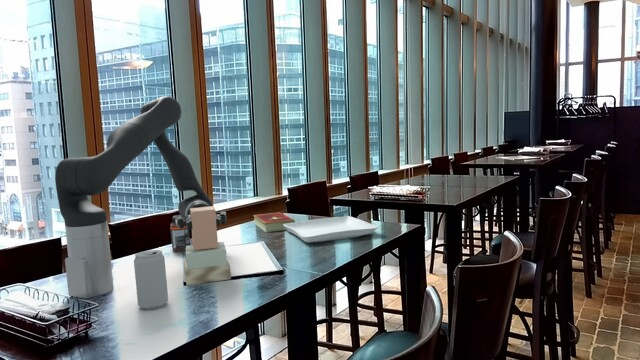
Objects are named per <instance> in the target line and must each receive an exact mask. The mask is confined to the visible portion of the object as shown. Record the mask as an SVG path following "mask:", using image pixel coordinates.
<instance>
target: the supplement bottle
mask: <svg viewBox="0 0 640 360" xmlns="http://www.w3.org/2000/svg"><path fill="white" fill-rule="evenodd" d="M175 216H181V215H180V214H178V215H177V214H176V215H173V216H172V222H171V223H170V225H169V226H170V227H169V228H170V230H169V231H170V238H171V249H172V251H174V252H184V251H185V252H186V246H189V245H191V236H190V234H191V233H190V228H186V226H184V228H179V227H178V226H176V219H175Z"/></svg>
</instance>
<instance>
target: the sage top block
mask: <svg viewBox="0 0 640 360" xmlns="http://www.w3.org/2000/svg"><path fill="white" fill-rule="evenodd" d="M185 261H186V266H187V270H188V269H196V268H205V267H213V266H222V265H227V261H228V260H227V248H226V245H225V242H224V241H218V248H209V249H201V250H194V248H193V244H190V245H189V246H186V250H185Z"/></svg>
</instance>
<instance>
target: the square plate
mask: <svg viewBox="0 0 640 360" xmlns="http://www.w3.org/2000/svg"><path fill="white" fill-rule="evenodd" d="M283 226H284V227H285V228H286V229H287V230H286V231H288V232H290V233H291V234H293V235H295V236H297V237H298V238H300V240H302V241H304V242H305V243H322V242H331V241H337V240H343V239H344V240H345V239H349V238H350V239H353V238H359V237H362V236H366V235H370V234H372V233H374V232H375V231H376V230H377V229H379V227H378V226H376V225H374V224H372V223H369V222H367V221H366V220H365V221H364V220H363V219H359V218H356V217H353V216H351V215H350V216H349V215H345V216H336V217H325V218H316V219H307V220H303V221H295V223H288V224H283Z"/></svg>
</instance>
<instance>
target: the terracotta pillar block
mask: <svg viewBox="0 0 640 360" xmlns="http://www.w3.org/2000/svg"><path fill="white" fill-rule="evenodd" d="M216 214H217V213H216V209H215V207H214V206H210V207H200V208H190V216H191V220H192V230H191V239H192V245H193V248H194V250H201V249H209V248H218V242H219V241H218V229H217V228H218V227H217V226H216Z"/></svg>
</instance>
